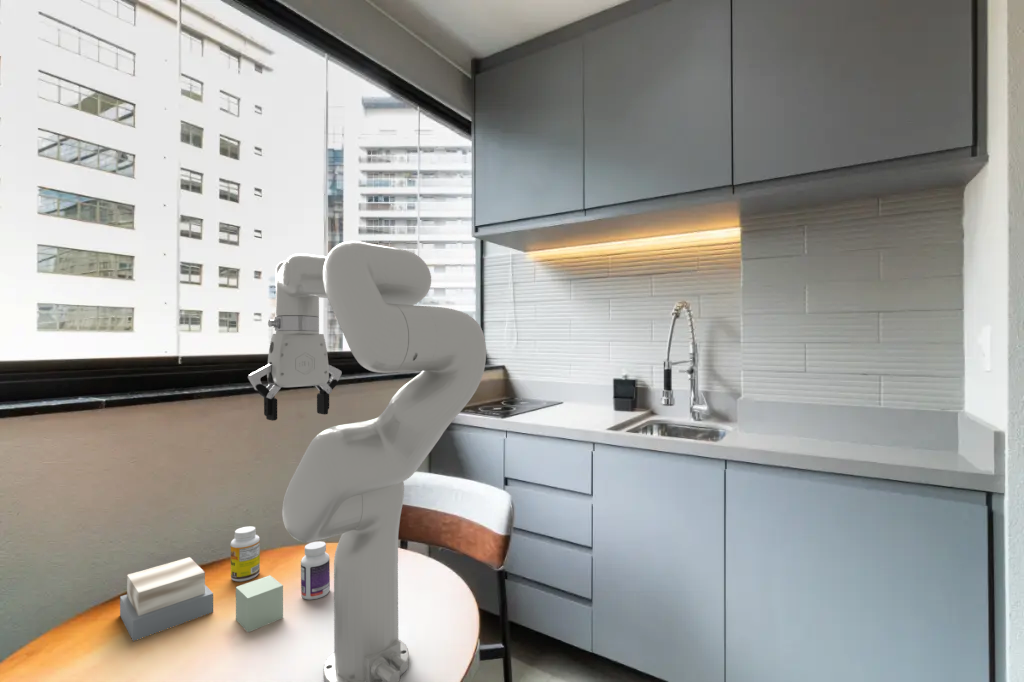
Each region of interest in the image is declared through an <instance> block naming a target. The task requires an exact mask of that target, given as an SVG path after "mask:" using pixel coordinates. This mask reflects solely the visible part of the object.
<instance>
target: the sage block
mask: <svg viewBox="0 0 1024 682" xmlns="http://www.w3.org/2000/svg"><path fill="white" fill-rule="evenodd" d="M282 619H284V585H283V584H282V583H281V582H279V581H278V580H277V579H276V578H275V577H273V576H272V575H270V574H269V575H267V576H264V577H261V578H258V579H255V580H252V581H249V582H246V583H243V584H240V585H237V586H236V587H235V620H236V621H237V623H238V624H240V626H241V627H242V628H243V629H244V630H245V631H246V632H247V633H250V632H253V631H254V630H258V629H259V628H263V627H265V626H267V625H269V624H272V623H274V622H276V621H278V620H282Z"/></svg>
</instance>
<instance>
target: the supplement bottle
mask: <svg viewBox="0 0 1024 682" xmlns="http://www.w3.org/2000/svg"><path fill="white" fill-rule="evenodd" d="M256 531H257V530H256V526H250V525H249V526H242V527H239V528H237V529H236V530H234V538H233V539H232V540H231V541H230V579H231V580H232V581H233V582H234V581H235V582H239V583H241V582H246V581H250V580H252V579H254V578H256V577H257V576H258V575H259V574H260V571H261V565H260V564H261V558H260V557H261V555H260V554H261V552H260V551H261V545H260V544H261V541H260V540H261V539H260V536H259V535H258V534H256Z"/></svg>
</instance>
